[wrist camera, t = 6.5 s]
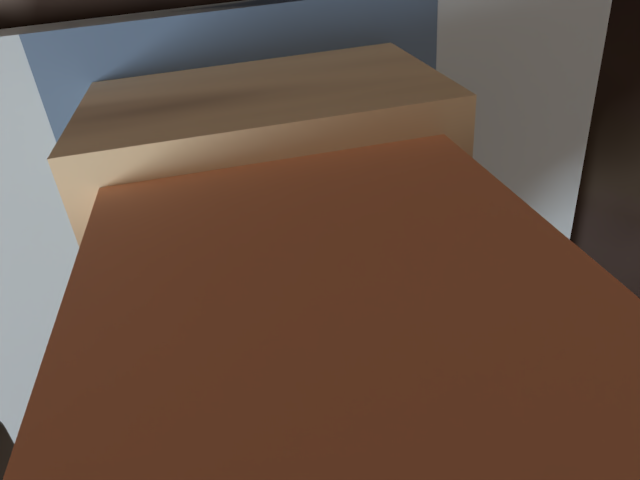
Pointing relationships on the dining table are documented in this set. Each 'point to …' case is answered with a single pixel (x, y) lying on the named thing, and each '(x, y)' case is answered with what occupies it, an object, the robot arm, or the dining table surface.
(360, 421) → the terracotta block
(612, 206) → the dining table surface
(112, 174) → the birch base block
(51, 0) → the dining table surface
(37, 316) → the blueprint board
